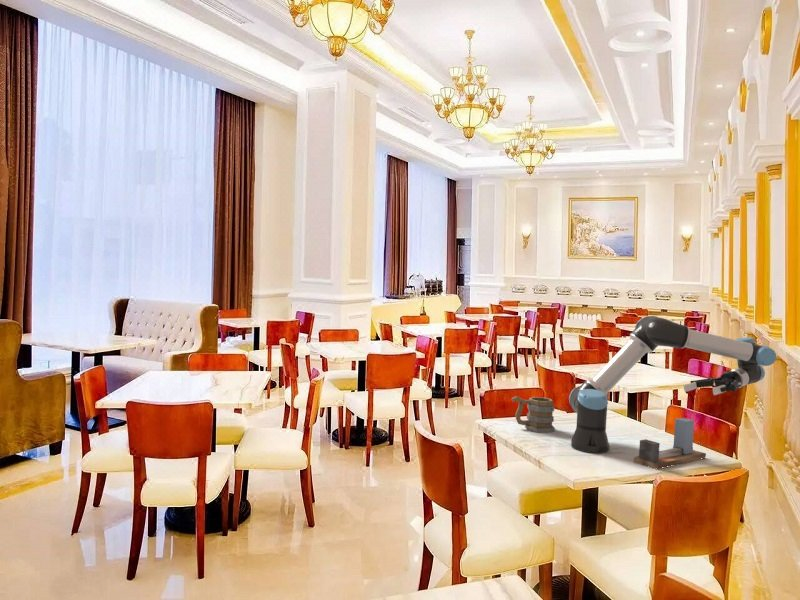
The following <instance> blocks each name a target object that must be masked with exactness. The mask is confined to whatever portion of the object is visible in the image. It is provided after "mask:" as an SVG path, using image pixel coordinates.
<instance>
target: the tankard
mask: <svg viewBox="0 0 800 600" xmlns="http://www.w3.org/2000/svg"><path fill="white" fill-rule="evenodd" d="M511 401H512V403H515V402H516V401H517V402H518V407H517V409H516V412H515V421H516V422H517V424H518V425H522V426H524V428H525V429H526V431H530V432H533V433H538V434H539V433H542V434H543V433H544V434H549V433H553V432H555V429H556V427H555V426H554V425H553V423H554V420H555V417H554V416H553V412H555V406H554V400H553V399H552V398H549V397H543V396H542V397H541V396H531V397H529V399H523V398H521V397H519V396H518V395H516V396H514V397H512V398H511ZM524 404H525V405H527V409H528V412H527V413H526V419H525V420H522V419H521V414H522V412H523V410H524Z"/></svg>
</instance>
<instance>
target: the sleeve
mask: <svg viewBox="0 0 800 600" xmlns="http://www.w3.org/2000/svg"><path fill="white" fill-rule="evenodd" d="M694 429H695V420H694V419H689V418H685V417H678V418H675V419H674V432H673V433H674V435H673V446H672V448H677V447H679V448H682V449H683V454H690V453H693V450H694V447H693V444H694V431H695V430H694Z"/></svg>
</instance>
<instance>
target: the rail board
mask: <svg viewBox="0 0 800 600" xmlns="http://www.w3.org/2000/svg"><path fill="white" fill-rule="evenodd" d="M660 445H661V444H660V443H659V442H658V441H653V440H649V439H641V440H639V446H638V447H639V451H638V455H637V456H634V457H633V463H636V464H638V465H641V466H646V467H648V466H649V468H651V467H653V468H652V469H654V468H657V469H658V470H660V469H659V468H662V467H666V468H668V467H667V466H671V465H675V466H678V465H677V464H679V465H683V463H684V464H687V462H688V463H692V462H695V461H694V460H696V461H699V460H698V459H701V458H705V457H706V456H707V453H706V452H703V451H699V450H695V449H693V453H690V454H683V449H682V448H679V447H677V448H673V447H672V448H668V449H662V450H660ZM706 458H707V457H706ZM706 458H705V459H706ZM701 460H702V459H701ZM691 461H692V462H691ZM671 467H672V466H671ZM657 469H656V470H657ZM662 469H663V468H662Z"/></svg>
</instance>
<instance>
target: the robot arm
mask: <svg viewBox="0 0 800 600" xmlns="http://www.w3.org/2000/svg"><path fill="white" fill-rule="evenodd" d="M658 346H659V347H671V348H675V349H681V350H682V349H684V348H686V349H692V350H695V351H700V352H703V353H707V354H708V353H709V354H713V355H717V356H722V357H726V358H731V359H735V360H737V368H735V369H731V370H729V371H724V372H722V374H721V375H720V377H715V378H714V377H709V378H702V379H696V380H690V383H686V384H683V391H684V392H685V393H686V392H690V391H693V390H697V389H698V388H699V389H700V388H706V387H707V388H708V387H712V394H713V396H717V395H720V394H723V393H726V392H731V391H732V392H736V391H737V390H738V389H741V388H742V387H744V386H748V385H751V384H755V383H758V382H760V381H762V380H763V379H764V378H765V376H766V371H765V369H764V368H763V366H764V367H766V366H767V367H769V366H772V365H773V364H774V363H776V361H777V352H776V351H775V350H774V349H773V348H771V347H768V346H765V345H759V344H757V343H756V341H755V339H754V337H750V336H749V337H748V336H747V337H739V338H737V339H734V338H729V337H725V336H721V335H717V334H712V333H707V332H703V331H700V330H694V329H691V328H689V326H688V325H684V324H681V323H677V322H674V321H672V320H670V319H668V318H665V317H664V318H663V317H659V316H655V315H648V316H644V317H641V318H640V319H639V320H638V321H637V322H636V324H635V326H634V329H633V330H632V332H630V334H629V340H628V341H626V343H625V344H624V345H623V346H622V347H621V348H620V349H619V350H618V352H617V353H616V354H615V355H614V356H612V358H611V359H610V360H608V362H607V363H606V364H605V365H604V366H603V367H602V368H601V369H600V370H599V371H598V372H597V373H596V374H595V376H593V378H591V379H586V380H585V381H584V382H582V383H581V385H580V386H579V385H578V386H576V387H574V388H573V389H572V390H571V392H570V394H569V396H568V400H569V406H570V408H571V409H572V410H573V412H575V414H576V427H575V431H574V433H573V436H572V438H571V441H570V446H571V448H572V449H574V450H577V451H580V452H583V453H584V452H585V453H593V454H604V453H608V452H609V451H610V442H609V439H608V435H607V418H608V417H607V415H608V405H609V401H608V393H609V392H610V391H611V390H612V389H613V388H614V387H615V386H616V385H617V384H618V383H619V382H620V381H621V380H622V378H624V377H625V375H627V374H628V373H629V371H631V369H632V368H633V367H634V366H635V365H636V364H637V363H638V362H639V361H640V360H641V359H642V358H644V357H643V356H645V355H646V354H647V353H653V352H654V351H655V350H656V349H657V348H658Z"/></svg>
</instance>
